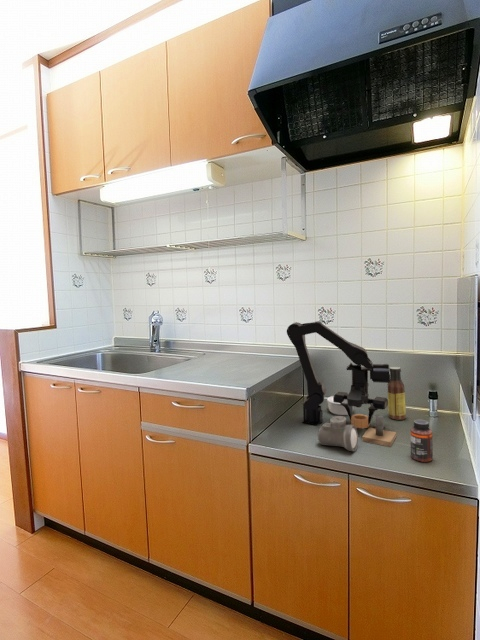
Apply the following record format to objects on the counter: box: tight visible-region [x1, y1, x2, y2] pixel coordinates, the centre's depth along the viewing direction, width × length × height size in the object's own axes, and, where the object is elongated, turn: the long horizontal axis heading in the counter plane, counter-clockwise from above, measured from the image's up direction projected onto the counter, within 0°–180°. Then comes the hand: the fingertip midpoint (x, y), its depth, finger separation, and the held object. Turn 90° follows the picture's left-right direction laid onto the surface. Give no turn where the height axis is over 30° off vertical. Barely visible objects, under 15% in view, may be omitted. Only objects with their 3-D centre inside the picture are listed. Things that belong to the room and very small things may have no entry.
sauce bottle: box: [386, 366, 407, 421], centre depth 141 cm, size 7×6×20 cm
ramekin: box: [326, 395, 355, 416], centre depth 151 cm, size 11×11×5 cm
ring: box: [350, 413, 371, 429], centre depth 136 cm, size 6×6×3 cm
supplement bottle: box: [410, 418, 434, 463], centre depth 108 cm, size 6×6×11 cm
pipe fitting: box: [317, 415, 359, 452], centre depth 118 cm, size 12×8×10 cm, turn 55°
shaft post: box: [361, 414, 397, 448], centre depth 123 cm, size 9×9×8 cm
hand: (360, 422), depth 136 cm, fingers closed on ring, 6 cm apart
